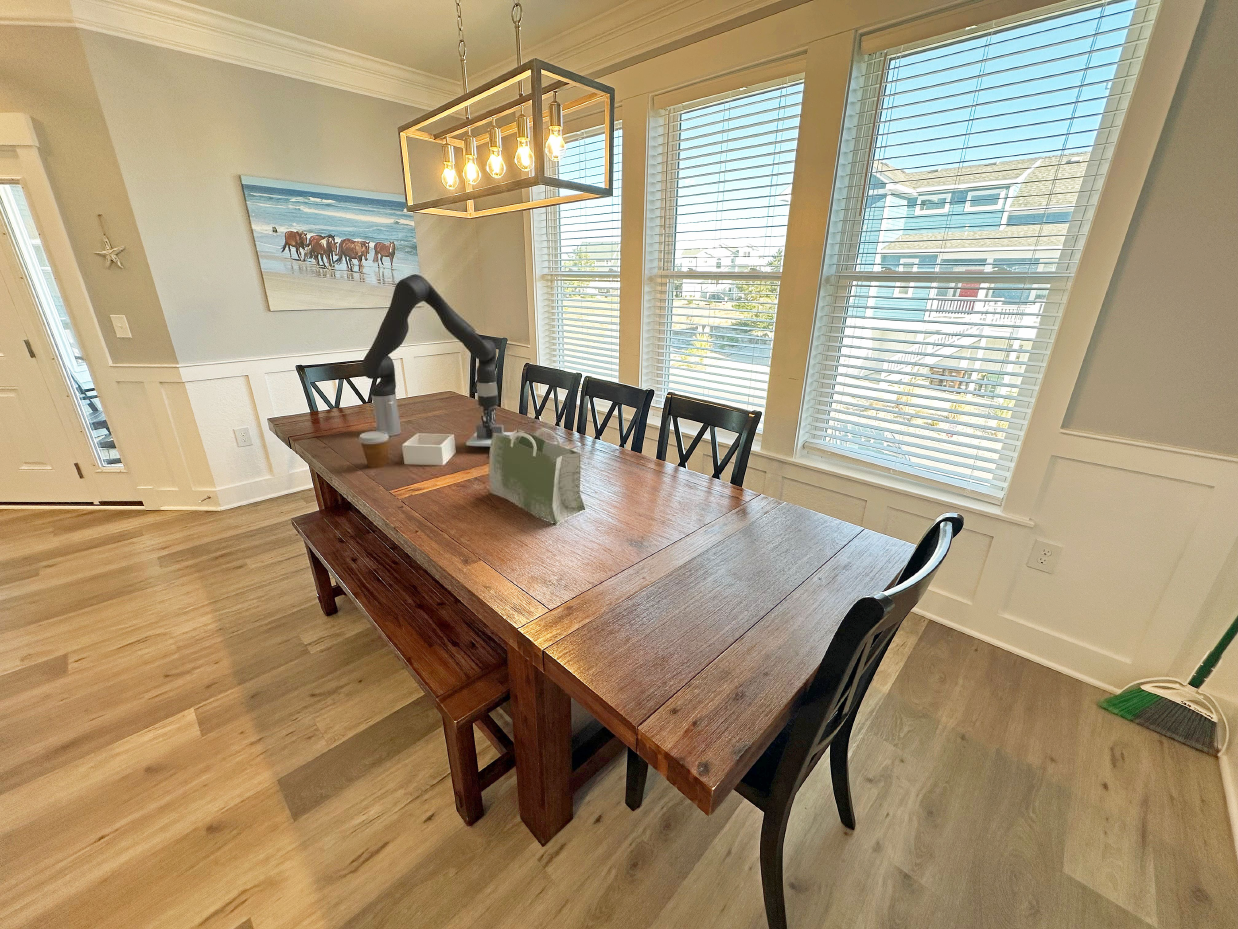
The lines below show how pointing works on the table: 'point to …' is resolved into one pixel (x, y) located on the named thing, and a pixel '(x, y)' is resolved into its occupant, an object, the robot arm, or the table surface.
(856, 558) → the table surface
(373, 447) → the disposable coffee cup
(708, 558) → the table surface
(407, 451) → the storage box
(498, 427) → the box lid
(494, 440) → the grocery bag
